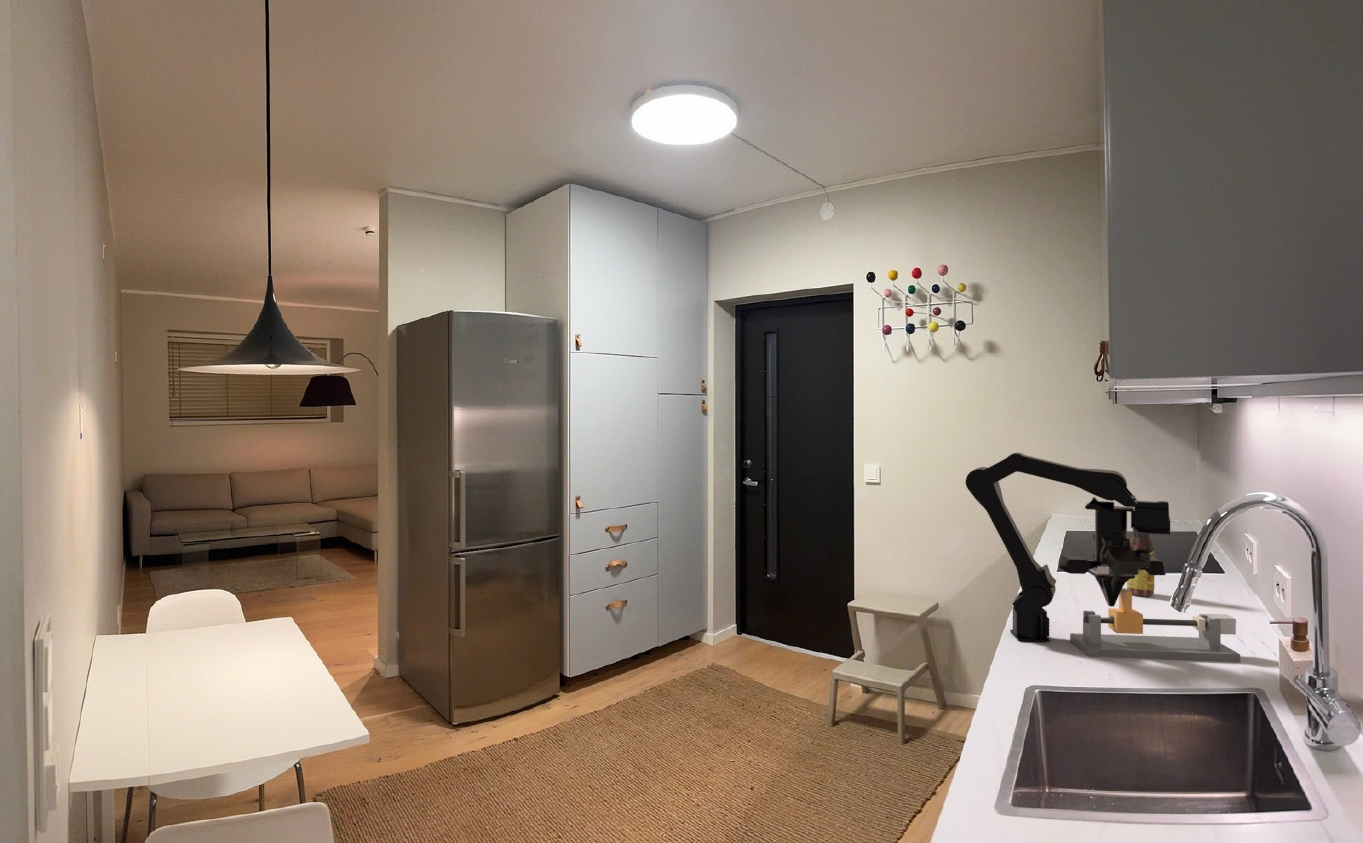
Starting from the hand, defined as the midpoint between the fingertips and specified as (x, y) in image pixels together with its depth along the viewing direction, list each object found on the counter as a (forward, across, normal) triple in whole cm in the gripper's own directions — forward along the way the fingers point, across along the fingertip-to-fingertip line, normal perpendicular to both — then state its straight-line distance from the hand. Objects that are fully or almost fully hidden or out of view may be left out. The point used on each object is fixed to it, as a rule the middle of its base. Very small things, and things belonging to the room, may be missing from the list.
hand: (1111, 606), depth 152 cm
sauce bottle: (+9, +26, +46) cm, 54 cm away
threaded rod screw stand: (+9, +8, 0) cm, 12 cm away
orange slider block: (+5, +3, 0) cm, 6 cm away
